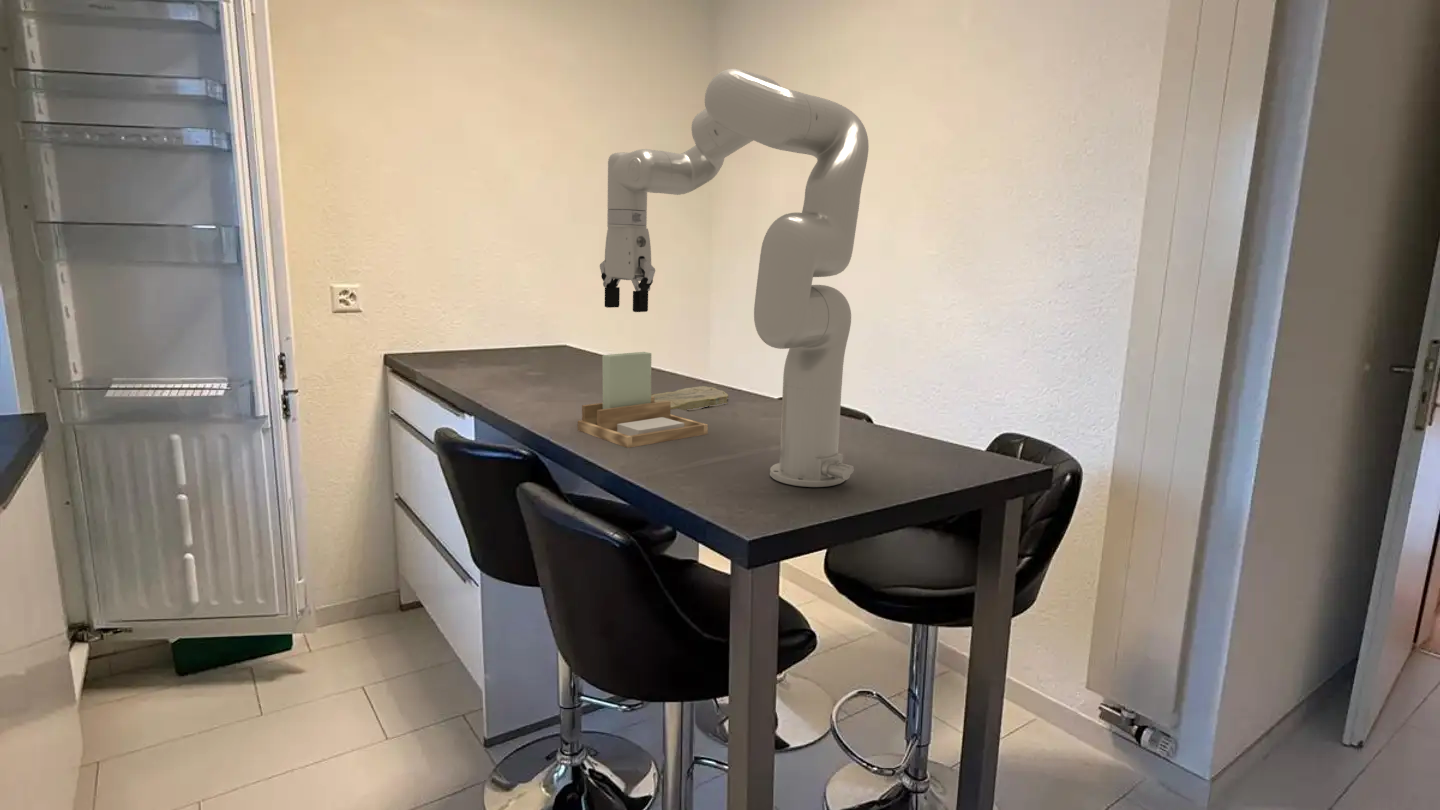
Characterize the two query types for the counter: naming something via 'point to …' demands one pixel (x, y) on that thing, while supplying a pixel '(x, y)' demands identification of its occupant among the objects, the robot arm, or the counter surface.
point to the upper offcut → (648, 426)
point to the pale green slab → (626, 379)
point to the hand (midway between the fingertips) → (625, 309)
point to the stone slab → (693, 397)
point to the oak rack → (606, 421)
